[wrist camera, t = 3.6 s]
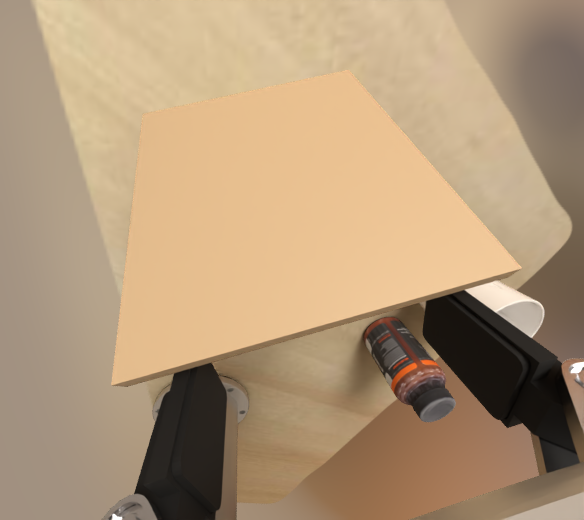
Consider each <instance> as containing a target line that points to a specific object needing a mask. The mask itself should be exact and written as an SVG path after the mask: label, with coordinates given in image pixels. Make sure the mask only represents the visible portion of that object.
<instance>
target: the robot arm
mask: <svg viewBox="0 0 584 520" xmlns="http://www.w3.org/2000/svg"><path fill="white" fill-rule="evenodd" d="M423 336H424V338H425V340H426V341H427V342H428V343H429V344H430V346H431V347H432V348H433V349H434V350H435V351H436V352H437V354H438V355H439V356H440V357H441V358H442V359H443V360H444V362H445V363H446V364H447V365H448V366H449V367H450V368H451V370H452V371H453V372H454V373H455V374H456V375H457V376H458V378H459V379H460V380H461V381H462V382H463V383H464V384H465V386H466V387H467V388H468V389H469V390H470V391H471V392H472V394H473V395H474V396H475V397H476V398H477V399H478V400H479V401H480V403H481V404H482V405H483V406H484V407H485V408H486V410H487V411H488V412H489V413H490V414H491V415H492V416H493V417H494V418H496V419H498V420H501V421H502V423H503V424H504V425H505V426H506V427H507V428H509V427H512V426H515V425H518V424H521V423H523V424H524V425H525V426H526V427H527V428H528V429H529V430H530V432H531V437H532V442H533V447H534V452H535V457H536V461H537V467H538V472H539V476H537V477H534V478H531V479H528V480H525V481H522V482H519V483H516V484H513V485H510V486H507V487H504V488H501V489H498V490H495V491H492V492H489V493H486V494H483V495H480V496H477V497H474V498H472V499H468V500H466V501H462V502H460V503H457V504H454V505H451V506H448V507H445V508H442V509H439V510H436V511H433V512H430V513H428V514H425V515H422V516H418V517H416V518H413V519H410V520H584V359H580V358H575V359H568V360H566V361H564V363H563V364H562V363H561V362H560V361H558V360H557V358H558V357H557V356H555V355H554V354H553V353H551V352H550V351H549V350H547V349H546V348H544V347H543V346H542V345H540V344H539V343H537V342H536V341H535V340H533V339H532V338H530V337H529V336H528V335H526V334H525V333H524V332H522V331H521V330H519V329H518V328H517V327H515V326H514V325H512V324H511V323H510V322H508V321H507V320H505V319H504V318H503V317H501V316H500V315H499V314H497V313H496V312H494V311H493V310H492V309H490V308H489V307H487V306H486V305H485V304H483V303H482V302H480V301H479V300H478V299H476V298H475V297H473V296H472V295H471V294H469V293H468V292H467V291H465V290H462V291H459V292H455V293H452V294H448V295H445V296H441V297H438V298H434V299H431V300H427V301H426V306H425V315H424V324H423ZM248 409H249V397H248V393H247V391H246V390H245V389H244V387H243V386H242V385H240V384H239V383H238V382H236V381H234V380H232V379H229V378H226V377H222V376H218V374H217V372H216V371H215V369H214V367H213V365H212V363H208V364H204V365H201V366H197V367H194V368H190V369H187V370H183V371H180V372H176V373H174V377H173V380H172V384H171V385H169V386H167V387H166V388H165V389H164V390H163V391H161V393H160V394H159V395H158V397H157V399H156V401H155V404H154V407H153V418H154V420H155V425H154V429H153V432H152V435H151V439H150V442H149V446H148V449H147V453H146V456H145V459H144V462H143V466H142V469H141V473H140V476H139V479H138V483H137V486H136V490H135V493H134V495H129V496H128V497H126V498H124V499H122V500H120V501H119V502H118V503H117V504H116V505H115V506H113V507H112V508H111V509H110V510H109V511H108V513H107V514H106V515H105V516H104V518H103V519H102V520H236V512H237V510H236V509H237V508H236V507H237V437H238V424H239V423H240V422H241V421H242V420H243V419H244V417H245V416H246V414H247V412H248Z"/></svg>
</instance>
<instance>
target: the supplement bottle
mask: <svg viewBox="0 0 584 520" xmlns="http://www.w3.org/2000/svg"><path fill="white" fill-rule="evenodd" d="M364 342H365V344H366V346H367V348H368V350H369V352H370V353H371V355H372V357H373V359H374V360H375V362H376V363H377V365H378V367H379V368H380V370H381V372H382V373H383V375H384V377H385V379H386V380H387V382H388V384H389V386H390V387H391V389H392V391H393V392H394V394H395V395H396V397H397V398H398V399H399V400H400V401H401V402H402V403H404V404H408V405H412V406H413V409H414V411H415V412H416V413H417V415H418V416H419V418H420V419H421V420H422V421H424V422H433V421H436V420H439V419H441V418H443V417H445V416H446V415H447V414H449V413H450V412H451V411H452V410H453V408H454V407H455V400H454V398H453V397H452V396H451V394H450V393H449V391H448V390H447V389H445V381H446V378H445V375H444V372H443V371H442V369H441V368H440V367H439V366H438V364H437V363H436V362H435V361H434V360H433V358H432V357H431V356H430V355H429V354H428V352H427V351H426V350H425V349H424V348H423V347H422V345H421V344H420V343H419V342H418V341H417V340H416V338H415V337H414V336H413V335H412V334H411V332H410V331H409V330H408V329H407V328H406V327H405V325H404V324H403V323H402V322H401V321H400V320H398V319H397V318H394V317H386V318H381V319H379V320H377V321H375V322H374V323H372V324H371V325H370V326H369V327H368V328H367V330H366V332H365V334H364Z"/></svg>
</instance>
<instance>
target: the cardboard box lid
mask: <svg viewBox="0 0 584 520" xmlns="http://www.w3.org/2000/svg"><path fill="white" fill-rule="evenodd" d="M520 269H522V268H521V267H520V265H519V264H518V263H517V262H516V261H515V260H514V259H513V257H512V256H511V255H510V254H509V253H508V252H507V251H506V249H505V248H504V247H503V246H502V245H501V244H500V243H499V241H498V240H497V239H496V238H495V237H494V236H493V235H492V233H491V232H490V231H489V230H488V229H487V228H486V227H485V225H484V224H483V223H482V222H481V221H480V220H479V219H478V217H477V216H476V215H475V214H474V213H473V212H472V211H471V209H470V208H469V207H468V206H467V205H466V204H465V203H464V201H463V200H462V199H461V198H460V197H459V196H458V194H457V193H456V192H455V191H454V190H453V189H452V188H451V186H450V185H449V184H448V183H447V182H446V181H445V180H444V178H443V177H442V176H441V175H440V174H439V173H438V172H437V170H436V169H435V168H434V167H433V166H432V165H431V164H430V162H429V161H428V160H427V159H426V158H425V157H424V156H423V154H422V153H421V152H420V151H419V150H418V149H417V148H416V146H415V145H414V144H413V143H412V142H411V141H410V140H409V138H408V137H407V136H406V135H405V134H404V133H403V132H402V130H401V129H400V128H399V127H398V126H397V125H396V124H395V122H394V121H393V120H392V119H391V118H390V117H389V116H388V114H387V113H386V112H385V111H384V110H383V109H382V107H381V106H380V105H379V104H378V103H377V102H376V101H375V99H374V98H373V97H372V96H371V95H370V94H369V93H368V91H367V90H366V89H365V88H364V87H363V86H362V85H361V83H360V82H359V81H358V80H357V79H356V78H355V77H354V75H353V74H352V73H351V72H350V71H349V70H346V71H341V72H336V73H332V74H327V75H322V76H318V77H313V78H308V79H304V80H299V81H294V82H290V83H285V84H280V85H276V86H271V87H266V88H262V89H257V90H253V91H248V92H243V93H239V94H234V95H229V96H225V97H220V98H215V99H211V100H206V101H201V102H197V103H192V104H187V105H183V106H178V107H173V108H169V109H164V110H159V111H155V112H150V113H145V114H143V117H142V126H141V134H140V143H139V152H138V160H137V169H136V177H135V186H134V195H133V203H132V212H131V220H130V229H129V238H128V246H127V255H126V264H125V272H124V281H123V289H122V298H121V307H120V316H119V324H118V332H117V341H116V350H115V358H114V367H113V375H112V384H111V385H112V386H124V387H128V386H131V385H135V384H138V383H142V382H145V381H149V380H152V379H156V378H159V377H163V376H166V375H169V374H173V373H176V372H180V371H183V370H187V369H190V368H194V367H197V366H201V365H204V364H208V363H211V362H215V361H218V360H222V359H225V358H229V357H232V356H236V355H239V354H243V353H246V352H250V351H253V350H257V349H260V348H264V347H267V346H271V345H274V344H278V343H281V342H285V341H288V340H291V339H295V338H298V337H302V336H305V335H309V334H312V333H316V332H319V331H323V330H326V329H330V328H333V327H337V326H340V325H344V324H347V323H351V322H354V321H358V320H361V319H365V318H368V317H372V316H375V315H379V314H382V313H386V312H389V311H393V310H396V309H400V308H403V307H407V306H410V305H414V304H417V303H420V302H424V301H427V300H431V299H434V298H438V297H441V296H445V295H448V294H452V293H455V292H459V291H462V290H466V289H469V288H473V287H476V286H480V285H483V284H487V283H490V282H494V281H497V280H501V279H504V278H508V277H509V276H511V275H512V274H514V273H515V272H517V271H519V270H520Z"/></svg>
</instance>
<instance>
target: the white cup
mask: <svg viewBox="0 0 584 520" xmlns="http://www.w3.org/2000/svg"><path fill="white" fill-rule="evenodd" d="M465 291H467V292H468V293H469V294H471V295H472V296H473V297H475V298H476V299H478V300H479V301H480V302H482V303H483V304H485V305H486V306H487V307H489V308H490V309H492V310H493V311H494V312H496V313H497V314H499V315H500V316H501V317H503V318H504V319H505V320H507V321H508V322H510V323H511V324H512V325H514V326H515V327H517V328H518V329H519V330H521V331H522V332H524V333H525V334H526V335H528V336H529V337H530V338H532V337H533V336H534V334H535V333H536V332H537V331H538V329H539V327H540V326H541V324H542V321H543V318H544V308H543V306H542V305H541V304H540V303H539V302H537V301H536V300H534V299H532V298H530V297H528V296H526V295H524V294H522V293H520V292H518V291H516V290H514V289H513V288H511V287H509V286H507V285H505V284H503V283H501V282H499V281H494V282H490V283H487V284H483V285H480V286H476V287H473V288H469V289H466V290H465ZM419 304H420V305H421V306H422V308H423V309H424V311H425V306H426V301H424V302H420V303H419Z"/></svg>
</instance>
